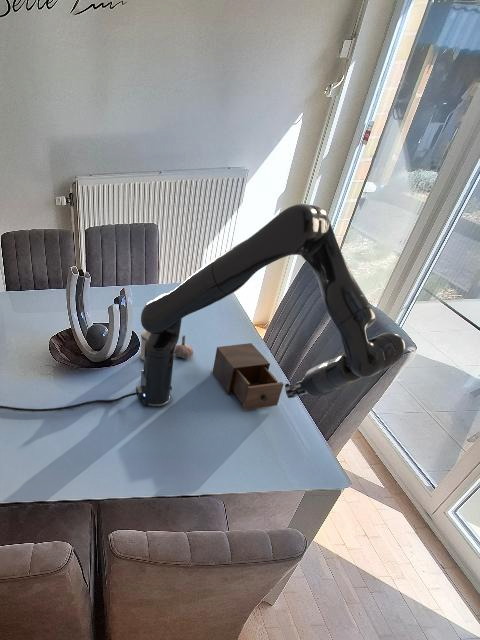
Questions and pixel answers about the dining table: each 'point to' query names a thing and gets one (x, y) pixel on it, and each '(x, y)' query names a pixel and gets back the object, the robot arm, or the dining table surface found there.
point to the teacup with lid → (143, 342)
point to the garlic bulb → (183, 350)
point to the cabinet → (236, 362)
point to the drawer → (256, 387)
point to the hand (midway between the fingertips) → (289, 394)
